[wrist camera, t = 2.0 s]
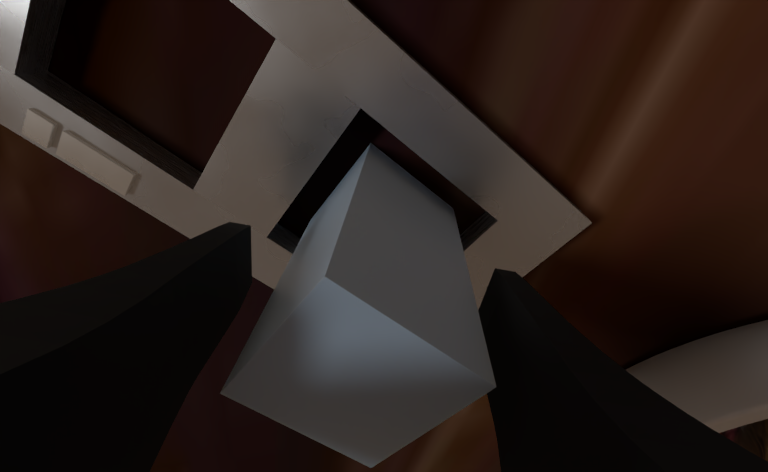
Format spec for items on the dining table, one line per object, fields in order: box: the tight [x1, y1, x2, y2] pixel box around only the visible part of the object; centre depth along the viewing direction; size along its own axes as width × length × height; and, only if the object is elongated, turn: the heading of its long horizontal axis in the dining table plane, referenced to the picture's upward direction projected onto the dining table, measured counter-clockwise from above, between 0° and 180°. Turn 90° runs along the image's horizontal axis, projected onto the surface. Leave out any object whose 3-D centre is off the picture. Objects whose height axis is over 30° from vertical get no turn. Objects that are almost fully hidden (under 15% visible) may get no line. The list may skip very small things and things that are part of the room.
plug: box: [220, 143, 496, 468], centre depth 11 cm, size 4×4×8 cm
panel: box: [0, 0, 592, 310], centre depth 12 cm, size 21×10×1 cm, turn 52°
